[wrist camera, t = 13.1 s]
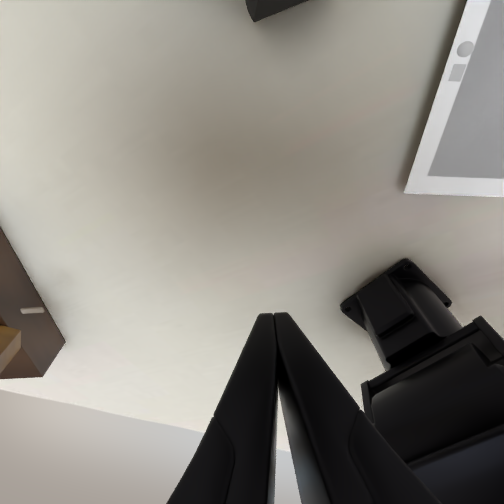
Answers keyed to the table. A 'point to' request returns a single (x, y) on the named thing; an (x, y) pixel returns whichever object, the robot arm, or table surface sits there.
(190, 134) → the table surface
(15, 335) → the tan wooden plank
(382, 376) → the robot arm
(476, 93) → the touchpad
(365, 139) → the table surface
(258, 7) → the electronic device
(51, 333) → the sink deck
